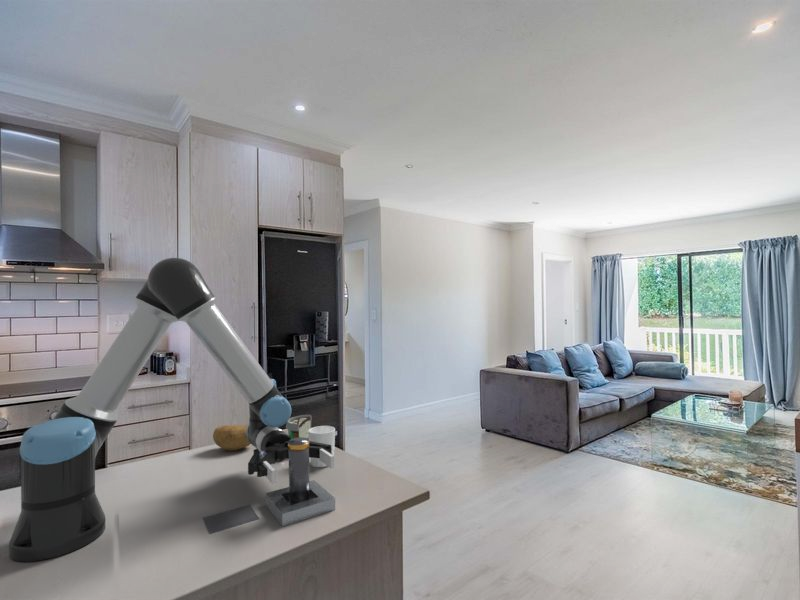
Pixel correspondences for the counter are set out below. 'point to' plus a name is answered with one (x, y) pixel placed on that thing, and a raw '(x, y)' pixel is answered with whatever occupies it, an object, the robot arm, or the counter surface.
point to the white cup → (322, 440)
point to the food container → (299, 426)
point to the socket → (299, 504)
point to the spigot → (298, 470)
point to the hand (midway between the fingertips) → (304, 469)
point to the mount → (230, 518)
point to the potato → (231, 437)
